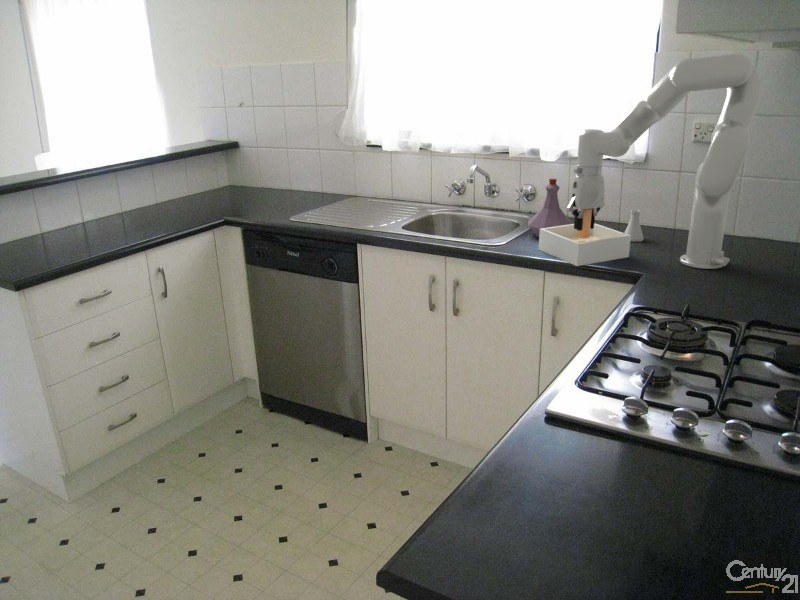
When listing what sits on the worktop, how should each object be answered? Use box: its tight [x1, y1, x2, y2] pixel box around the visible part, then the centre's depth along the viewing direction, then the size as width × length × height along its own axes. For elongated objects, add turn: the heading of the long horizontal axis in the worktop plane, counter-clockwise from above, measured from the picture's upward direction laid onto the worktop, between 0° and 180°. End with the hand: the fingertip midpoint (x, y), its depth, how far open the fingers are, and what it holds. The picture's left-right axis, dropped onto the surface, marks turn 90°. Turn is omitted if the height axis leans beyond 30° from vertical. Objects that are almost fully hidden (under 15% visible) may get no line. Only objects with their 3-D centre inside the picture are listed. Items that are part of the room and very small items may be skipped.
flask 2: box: [624, 209, 645, 243], centre depth 229 cm, size 7×7×10 cm
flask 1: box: [527, 178, 573, 238], centre depth 234 cm, size 16×16×20 cm
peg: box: [577, 208, 592, 238], centre depth 214 cm, size 4×4×10 cm
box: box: [538, 222, 631, 267], centre depth 216 cm, size 20×20×7 cm
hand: (583, 228), depth 214 cm, fingers closed on peg, 4 cm apart
